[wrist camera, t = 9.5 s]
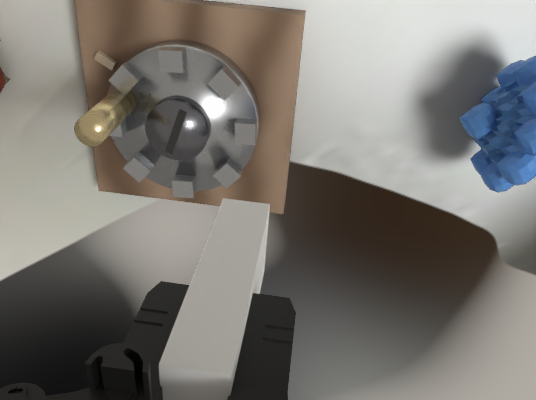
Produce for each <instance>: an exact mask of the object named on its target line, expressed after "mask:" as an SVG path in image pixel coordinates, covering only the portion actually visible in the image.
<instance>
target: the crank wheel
mask: <svg viewBox="0 0 536 400" xmlns="http://www.w3.org/2000/svg"><path fill="white" fill-rule="evenodd" d="M108 81H109V82H111V85H110V88H109V91H108V95H107V96H106V97H105V98H103V99H102V100H101V101H100V102H99V103H98V104H96V105H95V106H94V107H93V108H92V109H91V110H89V111H88V112H87V113H86V114H85V115H84V116H82V117H81V118H80V119H79V120H78V121H77V122H76V123H75V126H74V131H75V134H76V136H77V138H78V139H79V140H80V141H81V142H82V143H84V144H85V145H88V146H98V145H100V144H101V143H102V142H103V141H104V140H105V139H106V138H107V137H108V136H112V139H113V141H114V143H115V145H116V147H117V148H118V150H119V151H120V153H121V154H122V156H123V157H124V158H125V159H126V160H127V162H128V163H127V164H126V165H125V166H124V168H123V169H124V170H125V171H126V172H128V173H129V174H130V175H131V176H132V177H133V178H135V179H136V180H137V181H138V182H140V181H141V180H142V179H143V178H144V177H146V178H148V179H149V180H151V181H153V182H155V183H157V184H159V185H162V186H165V187H167V188H171V189H173V197H182V198H194V196H195V194H196V192H197V191H205V190H209V189H213V188H216V187H219V186H221V185H223V186H224V187H225V188H226V189H227V188H228V187H229V186H230V185H231V184H233V183H234V182H235V181H236V180H237V179H238V178H240V177H241V175H242V172H243V168H244V167H245V166H246V165H247V163H248V161H249V159H250V158H251V156H252V153H253V150H254V148H255V145H256V142H257V139H258V135H259V131H260V122H261V116H260V107H259V102H258V99H257V96H256V93H255V90H254V88H253V86H252V84H251V82H250V81H249V79H248V78H247V76H246V75H245V73H244V72H243V71H242V70H241V69H240V68H239V66H238V65H237V64H235V63H234V62H233V61H232V60H231V59H230V58H228V57H227V56H226V55H224V54H223V53H221V52H220V51H218V50H216V49H214V48H212V47H210V46H207V45H204V44H202V43H198V42H194V41H187V40H170V41H164V42H160V43H157V44H154V45H152V46H150V47H148V48H146V49H144V50H142V51H141V52H140V53H138V54H137V55H136V56H134V57H133V58H132V59H130V60H129V61H126V62H125V63H124V64H122V65H121V67H120V68H119V69H118V70H117V71H116V72H115V74H114V75H113V76H112V77H111V78H110V79H109V80H108Z"/></svg>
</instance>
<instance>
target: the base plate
mask: <svg viewBox="0 0 536 400" xmlns="http://www.w3.org/2000/svg"><path fill="white" fill-rule="evenodd" d="M74 1H75V9H76V16H77V24H78V32H79V40H80V48H81V55H82V63H83V71H84V79H85V87H86V94H87V102H88V110H91V109H92V108H93V107H94V106H95V105H96V104H98V103H99V102H100V101H101V100H102V99H103V98H105V97H106V96H107V95H108V91H109V88H110V85H111V82H109V81H108V80H109V79H110V78H111V77H112V76H113V75H114V74H115V72H116V71H117V70H118V69H119V68H120V67H121V65H122V64H124V63H125V62H126V61H129V60H130V59H132V58H133V57H134V56H136V55H137V54H138V53H140V52H141V51H142V50H144V49H146V48H148V47H150V46H152V45H154V44H157V43H160V42H164V41H170V40H187V41H194V42H198V43H202V44H204V45H207V46H210V47H212V48H214V49H216V50H218V51H220V52H221V53H223V54H224V55H226V56H227V57H228V58H230V59H231V60H232V61H233V62H234V63H235V64H237V65H238V66H239V68H240V69H241V70H242V71H243V72H244V73H245V75H246V76H247V78H248V79H249V81H250V82H251V84H252V86H253V88H254V90H255V93H256V96H257V99H258V102H259V107H260V116H261V122H260V131H259V135H258V139H257V142H256V145H255V148H254V150H253V153H252V156H251V158H250V159H249V161H248V163H247V165H246V166H245V167H244V168H243V172H242V175H241V177H240V178H238V179H237V180H236V181H235V182H234V183H233V184H231V185H230V186H229V187H228V188H227V189H226V188H225V187H224V186H223V185H221V186H219V187H216V188H213V189H209V190H205V191H197V192H196V194H195V196H194V198H182V197H173V189H171V188H167V187H165V186H162V185H159V184H157V183H155V182H153V181H151V180H149V179H148V178H146V177H144V178H143V179H142V180H141V181H140V182H138V181H137V180H136V179H135V178H133V177H132V176H131V175H130V174H129V173H128V172H126V171H125V170H124V169H123V168H124V166H125V165H126V164H127V163H128V162H127V160H126V159H125V158H124V157H123V156H122V154H121V153H120V151H119V150H118V148H117V147H116V145H115V143H114V141H113V139H112V136H108V137H107V138H106V139H105V140H104V141H103V142H102V143H101V144H100V145H98V146H93V149H94V157H95V165H96V172H97V180H98V188H99V191H106V192H114V193H121V194H129V195H137V196H145V197H153V198H161V199H169V200H177V201H184V202H193V203H200V204H208V205H215V206H220V205H221V202H222V200H223V198H226V199H234V200H242V201H249V202H257V203H265V204H270V210H269V212H270V213H278V214H283V212H284V206H285V198H286V189H287V179H288V170H289V161H290V152H291V142H292V133H293V124H294V114H295V105H296V95H297V86H298V77H299V67H300V58H301V48H302V39H303V30H304V20H305V11H304V10H294V9H284V8H274V7H264V6H254V5H244V4H234V3H224V2H214V1H204V0H74Z"/></svg>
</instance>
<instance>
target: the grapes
mask: <svg viewBox="0 0 536 400" xmlns="http://www.w3.org/2000/svg"><path fill="white" fill-rule="evenodd" d="M497 78H498V82H499V84H500V86H499V87H497V88H495V89H493V90H492V91H490V92H489V93H488V94H486V95H485V96H484V97H483V98H482V99H481V102H482V103H481V104H479V105H476V106H474V107H472V108H471V109H470V110H468V111H467V112H466V113H465V114H464V115H463V116H461V117H460V121H461V123H462V125H463V128H464V130H465V131H466V132H467V133H468V134H469V135H470V136H471V137H473V138H474V139H475V141H476V143H477V144H478V145H479V146H480V147H481V150H480V151H478V152H477V153H476V154H475V155H474V156H473V157H472V158H471V161H472V164H473V166H474V168H475V170H476V171H477V172H478V173H479V174H480V175H481V177H482V179H483V181H484V183H485V184H486V186H487V187H488V188H489V189H491V190H493V191H496V192H503V191H507V190H508V189H510V188H511V187H513V186H514V185H516V186H517V185H522V184H526V183H527V182H529V181H531V180H532V179H533V178H534V177H535V176H536V56H534V57H531V58H529V59H527V60H526V61H523V60H519V61H517V62H514V63H512V64H510V65H509V66H507V67H506V68H505V69H504V70H502V71H501V72H500V73H499V74H498V75H497Z"/></svg>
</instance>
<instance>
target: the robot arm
mask: <svg viewBox="0 0 536 400" xmlns="http://www.w3.org/2000/svg"><path fill="white" fill-rule="evenodd" d="M269 210H270V204H265V203H257V202H249V201H242V200H234V199H226V198H223V200H222V202H221V205H220V208H219V210H218V213H217V215H216V218H215V220H214V223H213V225H212V228H211V231H210V233H209V236H208V238H207V241H206V244H205V246H204V249H203V251H202V254H201V256H200V259H199V262H198V264H197V267H196V270H195V272H194V275H193V277H192V280H191V282H190V285H184V284H176V283H169V282H162V281H161V282H160V283H159V284H158V285H156V286H155V287H154V288H153V289H152V290H151V291H150V292H148V293H147V295H146V297H145V300H144V301H143V303H142V306H141V308H140V311H139V312H138V314H137V316H136V318H135V320H134V323H133V324H132V326H131V328H130V331H129V333H128V335H127V336H126V339H125V341H124V343H115V344H112V345H108V346H105V347H102V348H101V349H99V350H98V351H96V352H95V353H93V354H92V355H91V356H90V358H89V359H88V360H87V361H86V362H85V368H86V373H87V378H88V384H89V387H88V388H86V389H84V390H80V391H77V392H71V393H65V394H57V395H51V396H45V393H44V391H43V390H42V389H41V388H39V387H38V386H37V385H34V384H29V383H17V384H11V385H8V386H6V387H4V388H1V389H0V400H288V395H287V391H288V382H289V372H290V362H291V353H292V343H293V334H294V324H295V314H296V313H295V310H294V308H293V305H292V303H291V301H290V298H285V297H278V296H271V295H264V294H260V289H261V284H262V280H263V274H264V268H265V256H266V245H267V233H268V221H269Z"/></svg>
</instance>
